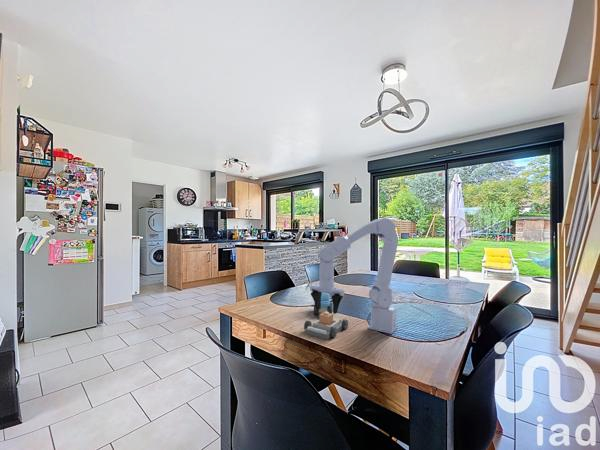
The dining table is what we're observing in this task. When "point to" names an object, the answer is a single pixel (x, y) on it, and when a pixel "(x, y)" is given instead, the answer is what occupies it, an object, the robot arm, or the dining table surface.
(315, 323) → the chassis
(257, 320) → the dining table surface
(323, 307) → the toy excavator
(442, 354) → the dining table surface
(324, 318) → the block
